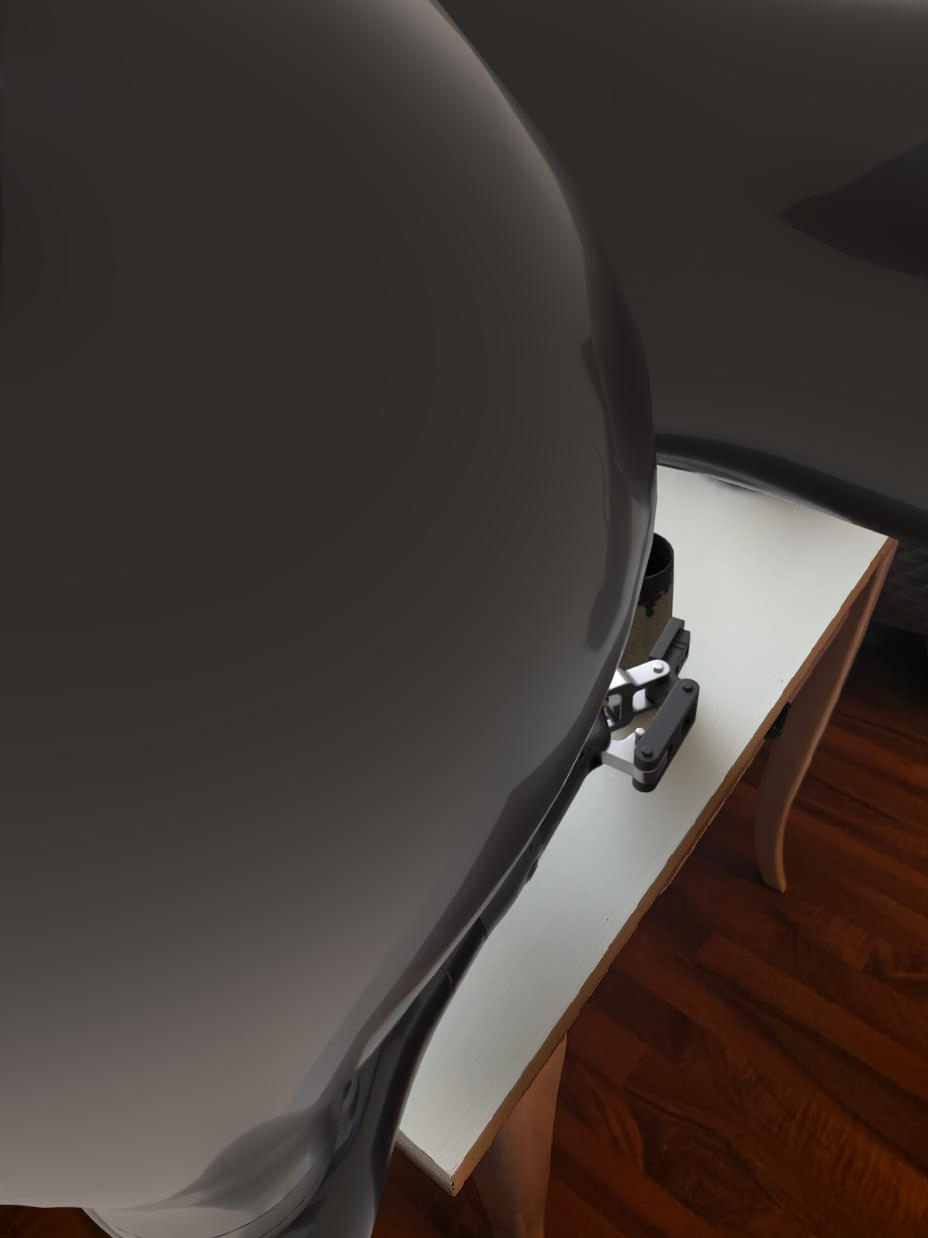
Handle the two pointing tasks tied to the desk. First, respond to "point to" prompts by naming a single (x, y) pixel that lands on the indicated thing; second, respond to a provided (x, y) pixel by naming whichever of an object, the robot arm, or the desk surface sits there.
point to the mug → (651, 605)
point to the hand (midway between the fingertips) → (607, 608)
